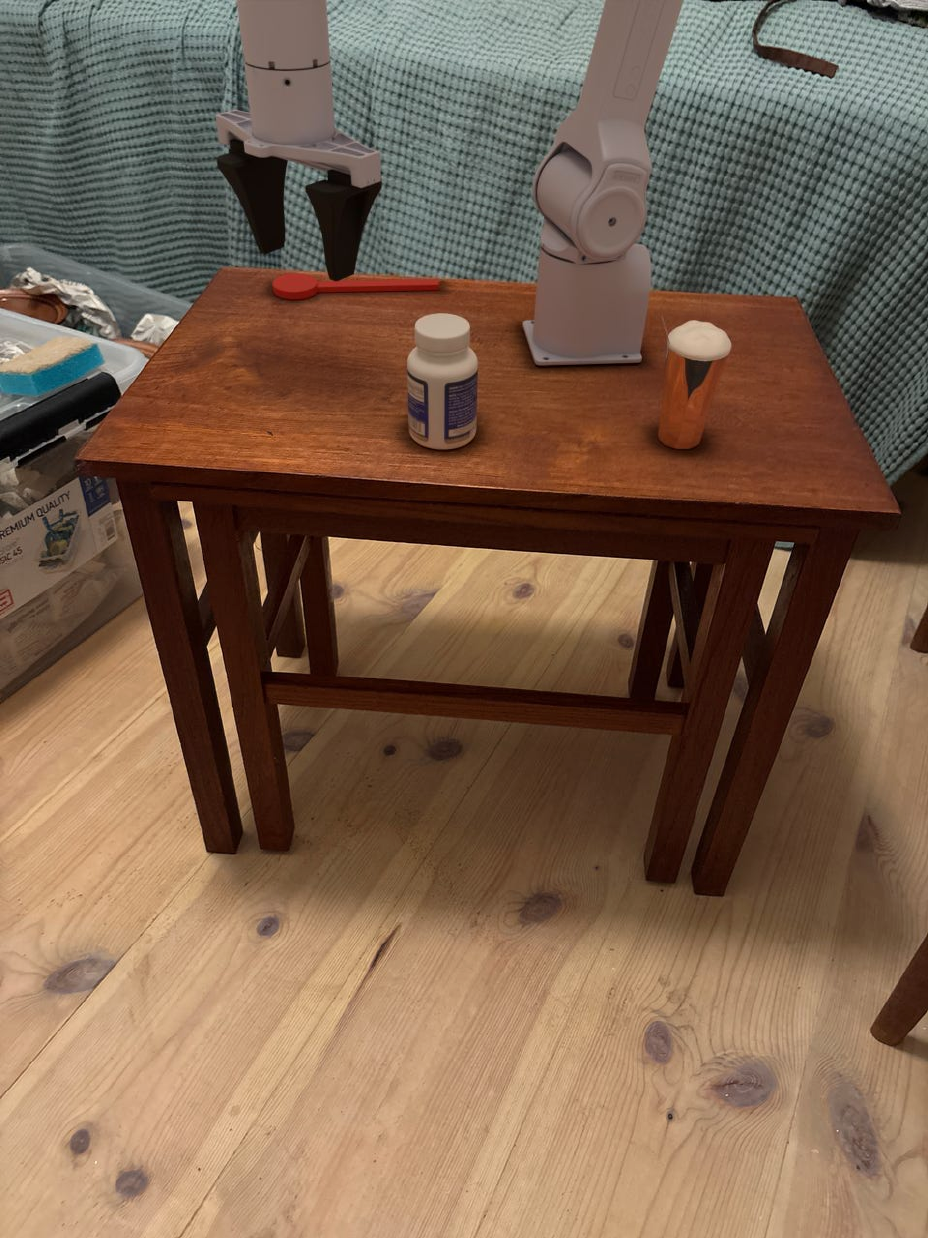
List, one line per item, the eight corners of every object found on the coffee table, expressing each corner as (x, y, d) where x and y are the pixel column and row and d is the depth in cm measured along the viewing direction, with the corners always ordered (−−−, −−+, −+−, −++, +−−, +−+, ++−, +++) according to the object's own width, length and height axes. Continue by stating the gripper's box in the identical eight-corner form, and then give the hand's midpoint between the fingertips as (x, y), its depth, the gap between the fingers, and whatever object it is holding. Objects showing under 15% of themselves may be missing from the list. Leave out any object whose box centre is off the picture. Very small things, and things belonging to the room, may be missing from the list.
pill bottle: (478, 418, 74) (483, 311, 67) (472, 453, 70) (476, 344, 64) (412, 413, 74) (411, 306, 68) (403, 448, 70) (400, 339, 64)
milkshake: (633, 423, 73) (654, 302, 67) (699, 422, 74) (727, 302, 67) (646, 455, 70) (669, 331, 63) (714, 454, 71) (745, 330, 64)
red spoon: (436, 278, 93) (436, 270, 93) (440, 296, 90) (440, 288, 89) (274, 281, 92) (273, 273, 91) (272, 300, 88) (271, 291, 88)
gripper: (169, 51, 62) (203, 252, 72) (321, 91, 56) (337, 306, 65) (248, 35, 66) (271, 227, 76) (399, 71, 60) (403, 276, 69)
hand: (306, 262), depth 71 cm, fingers open, 7 cm apart
